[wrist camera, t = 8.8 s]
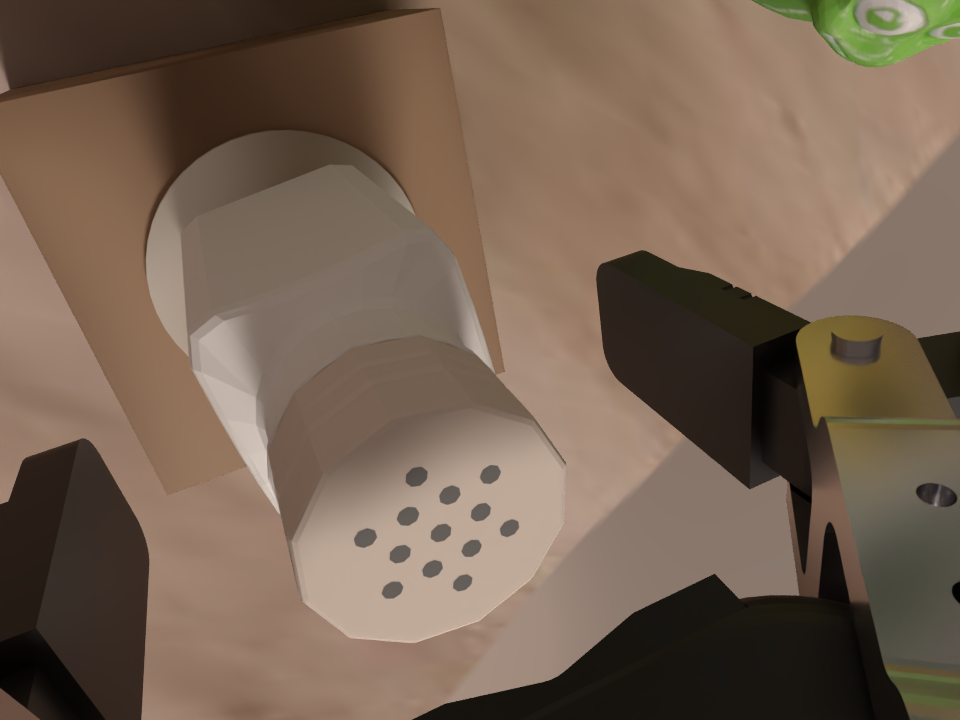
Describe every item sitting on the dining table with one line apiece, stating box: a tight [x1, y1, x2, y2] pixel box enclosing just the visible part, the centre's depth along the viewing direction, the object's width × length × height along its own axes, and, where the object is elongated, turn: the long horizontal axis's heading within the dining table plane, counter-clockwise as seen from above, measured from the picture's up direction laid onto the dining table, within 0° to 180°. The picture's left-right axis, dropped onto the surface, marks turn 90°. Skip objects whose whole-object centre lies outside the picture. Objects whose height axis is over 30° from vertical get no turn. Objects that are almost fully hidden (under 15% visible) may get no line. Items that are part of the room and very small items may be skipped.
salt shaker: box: [180, 164, 566, 643], centre depth 11 cm, size 4×4×10 cm
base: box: [0, 8, 505, 495], centre depth 17 cm, size 9×9×4 cm
